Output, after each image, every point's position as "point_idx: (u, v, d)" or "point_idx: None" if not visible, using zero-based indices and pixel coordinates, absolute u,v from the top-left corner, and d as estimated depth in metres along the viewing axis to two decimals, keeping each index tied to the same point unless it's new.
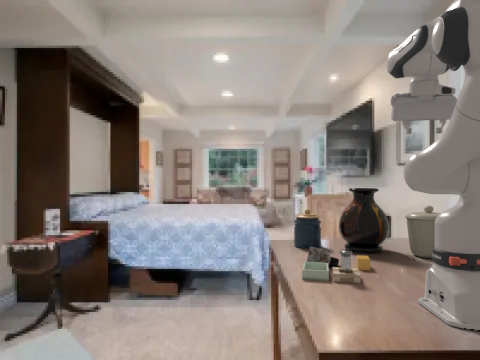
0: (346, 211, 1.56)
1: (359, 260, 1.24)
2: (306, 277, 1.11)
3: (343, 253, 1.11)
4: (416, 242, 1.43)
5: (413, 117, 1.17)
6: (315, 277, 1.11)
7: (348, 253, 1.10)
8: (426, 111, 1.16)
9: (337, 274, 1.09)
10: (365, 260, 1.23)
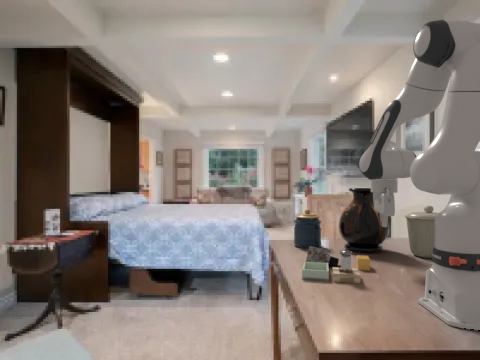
0: (346, 211, 1.56)
1: (359, 260, 1.24)
2: (306, 277, 1.11)
3: (343, 253, 1.11)
4: (416, 242, 1.43)
5: None
6: (315, 277, 1.11)
7: (348, 253, 1.10)
8: None
9: (337, 274, 1.09)
10: (365, 260, 1.23)
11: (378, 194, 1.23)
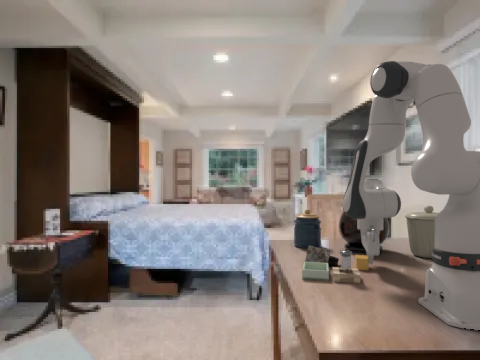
0: None
1: (357, 260, 1.24)
2: (306, 277, 1.11)
3: (343, 253, 1.11)
4: (416, 242, 1.43)
5: None
6: (315, 277, 1.11)
7: (348, 253, 1.10)
8: None
9: (337, 274, 1.09)
10: (363, 260, 1.23)
11: (364, 231, 1.24)
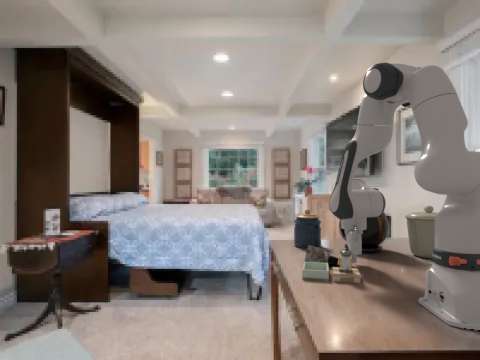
0: None
1: None
2: (306, 277, 1.11)
3: (343, 253, 1.11)
4: (416, 242, 1.43)
5: None
6: (315, 277, 1.11)
7: (348, 253, 1.10)
8: None
9: (337, 274, 1.09)
10: None
11: (347, 231, 1.25)
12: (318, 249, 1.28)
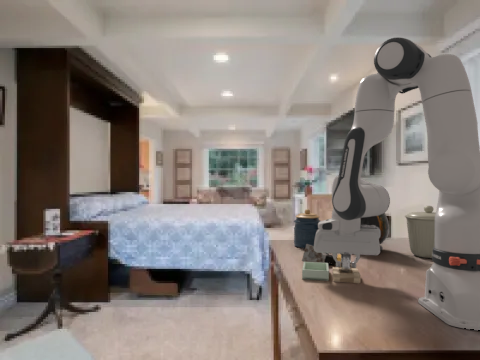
0: None
1: (338, 259, 1.25)
2: (306, 277, 1.11)
3: (343, 253, 1.11)
4: (416, 242, 1.43)
5: None
6: (315, 277, 1.11)
7: (348, 253, 1.10)
8: None
9: (337, 274, 1.09)
10: None
11: (353, 232, 1.09)
12: None
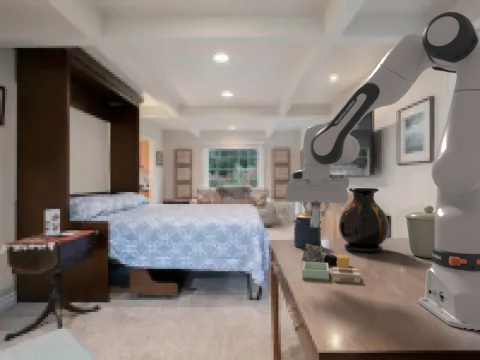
0: (346, 211, 1.56)
1: (338, 259, 1.25)
2: (306, 277, 1.11)
3: None
4: (416, 242, 1.43)
5: None
6: (315, 277, 1.11)
7: (317, 201, 1.15)
8: None
9: (337, 274, 1.09)
10: (344, 259, 1.24)
11: (323, 181, 1.14)
12: (315, 248, 1.30)
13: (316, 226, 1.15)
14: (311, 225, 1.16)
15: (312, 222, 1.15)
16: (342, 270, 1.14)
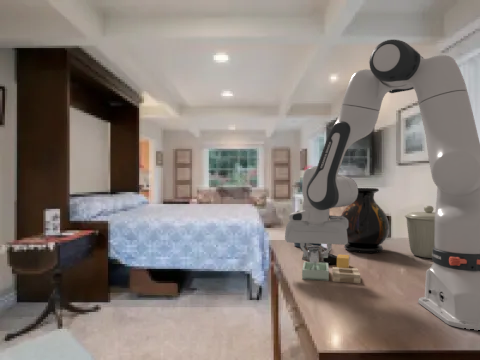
0: (346, 211, 1.56)
1: (338, 259, 1.25)
2: (306, 277, 1.11)
3: (310, 248, 1.15)
4: (416, 242, 1.43)
5: None
6: (315, 277, 1.11)
7: (315, 248, 1.14)
8: None
9: (337, 274, 1.09)
10: (344, 259, 1.24)
11: (322, 223, 1.14)
12: None
13: None
14: None
15: (312, 269, 1.15)
16: (342, 270, 1.14)
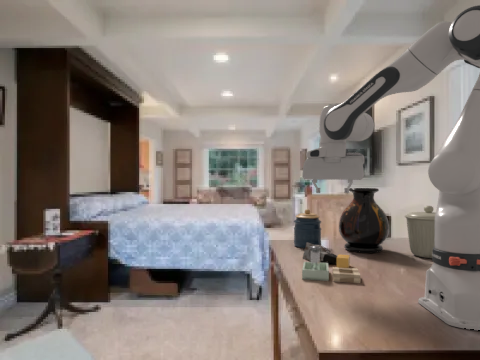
0: (346, 211, 1.56)
1: (337, 259, 1.25)
2: (306, 277, 1.11)
3: (312, 248, 1.15)
4: (416, 242, 1.43)
5: None
6: (315, 277, 1.11)
7: (317, 248, 1.14)
8: None
9: (337, 274, 1.09)
10: (343, 259, 1.25)
11: (339, 159, 1.17)
12: None
13: None
14: None
15: (312, 269, 1.15)
16: (342, 270, 1.14)
